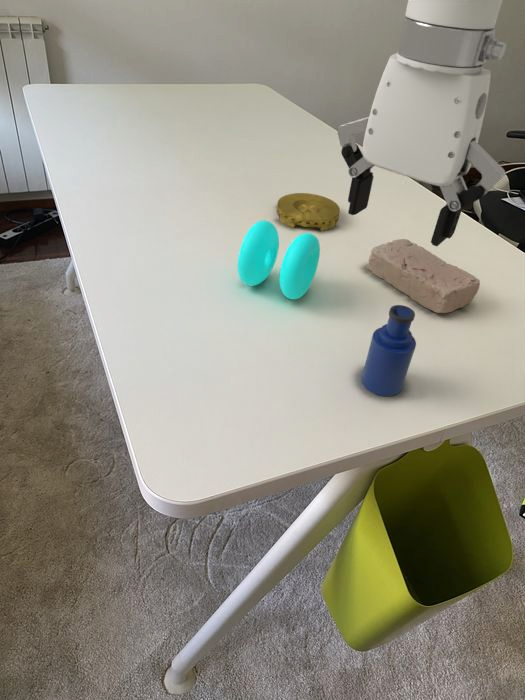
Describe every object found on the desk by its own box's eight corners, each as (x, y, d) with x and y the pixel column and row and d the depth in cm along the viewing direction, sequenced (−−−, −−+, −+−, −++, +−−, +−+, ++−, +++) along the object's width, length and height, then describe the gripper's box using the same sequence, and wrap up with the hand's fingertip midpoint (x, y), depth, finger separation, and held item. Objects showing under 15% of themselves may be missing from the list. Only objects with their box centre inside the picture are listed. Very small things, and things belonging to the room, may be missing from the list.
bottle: (405, 376, 71) (428, 306, 65) (397, 401, 68) (421, 330, 61) (366, 364, 73) (385, 294, 66) (356, 388, 69) (375, 317, 62)
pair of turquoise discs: (260, 265, 91) (266, 208, 84) (317, 283, 88) (327, 225, 81) (232, 293, 83) (236, 233, 77) (293, 313, 80) (301, 253, 74)
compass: (336, 206, 111) (338, 196, 110) (339, 234, 102) (341, 223, 100) (277, 200, 111) (278, 190, 110) (275, 227, 102) (276, 216, 100)
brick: (363, 269, 92) (369, 244, 89) (398, 257, 96) (404, 233, 94) (439, 320, 82) (448, 294, 79) (474, 305, 87) (484, 280, 84)
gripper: (554, 61, 47) (486, 241, 58) (375, 25, 54) (344, 191, 65) (530, 73, 42) (461, 268, 53) (336, 32, 49) (310, 210, 60)
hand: (396, 225), depth 59 cm, fingers open, 9 cm apart
